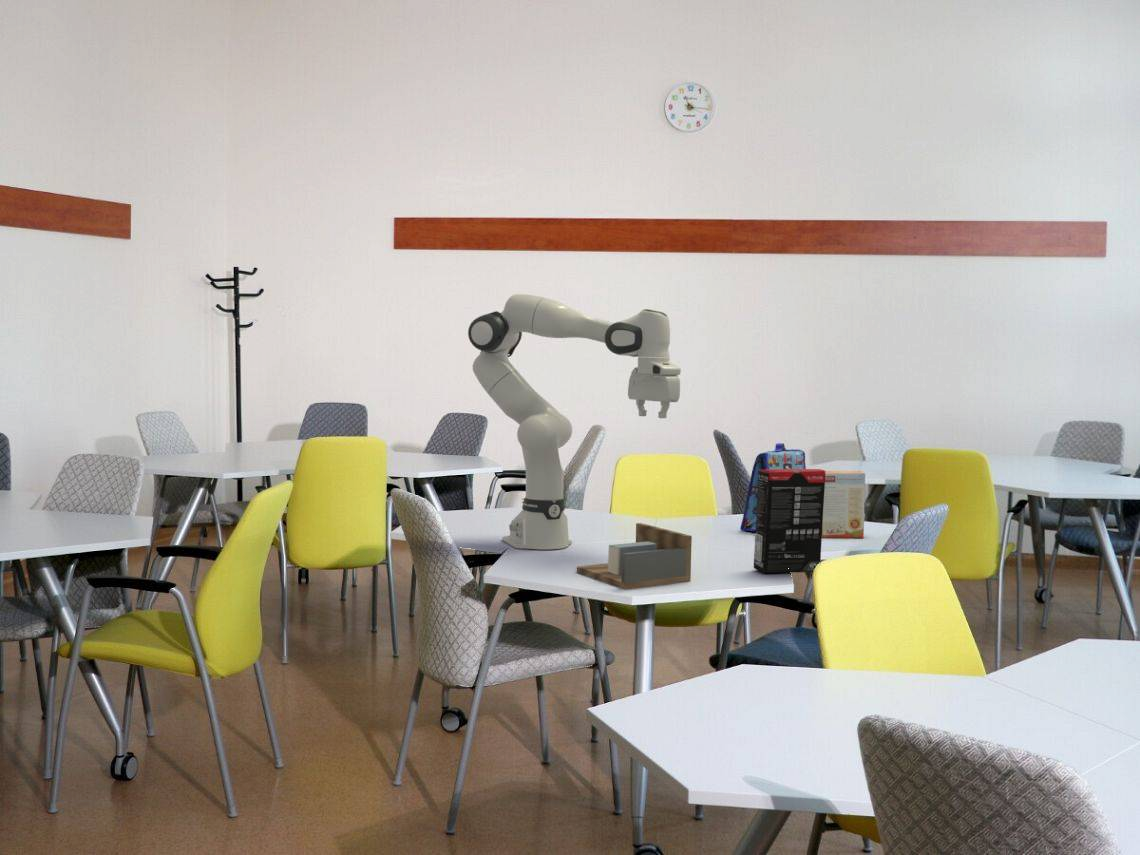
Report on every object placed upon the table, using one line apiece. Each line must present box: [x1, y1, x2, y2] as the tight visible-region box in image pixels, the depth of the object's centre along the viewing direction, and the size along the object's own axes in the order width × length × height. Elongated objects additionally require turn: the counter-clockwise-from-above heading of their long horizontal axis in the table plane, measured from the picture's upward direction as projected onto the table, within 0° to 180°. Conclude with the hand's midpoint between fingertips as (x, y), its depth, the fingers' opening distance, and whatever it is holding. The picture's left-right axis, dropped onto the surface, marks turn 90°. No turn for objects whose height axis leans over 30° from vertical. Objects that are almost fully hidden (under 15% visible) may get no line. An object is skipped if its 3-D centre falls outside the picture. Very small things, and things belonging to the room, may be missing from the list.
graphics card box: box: [753, 468, 826, 574], centre depth 276 cm, size 17×7×27 cm, turn 107°
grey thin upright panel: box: [621, 547, 687, 583], centre depth 257 cm, size 2×18×7 cm, turn 121°
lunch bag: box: [740, 442, 807, 533], centre depth 342 cm, size 22×14×29 cm, turn 131°
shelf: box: [576, 522, 693, 590], centre depth 266 cm, size 22×20×12 cm
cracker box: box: [822, 470, 866, 539], centre depth 332 cm, size 14×6×21 cm, turn 92°
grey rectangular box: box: [607, 541, 657, 576], centre depth 265 cm, size 4×12×7 cm, turn 122°
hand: (652, 417), depth 293 cm, fingers open, 8 cm apart
